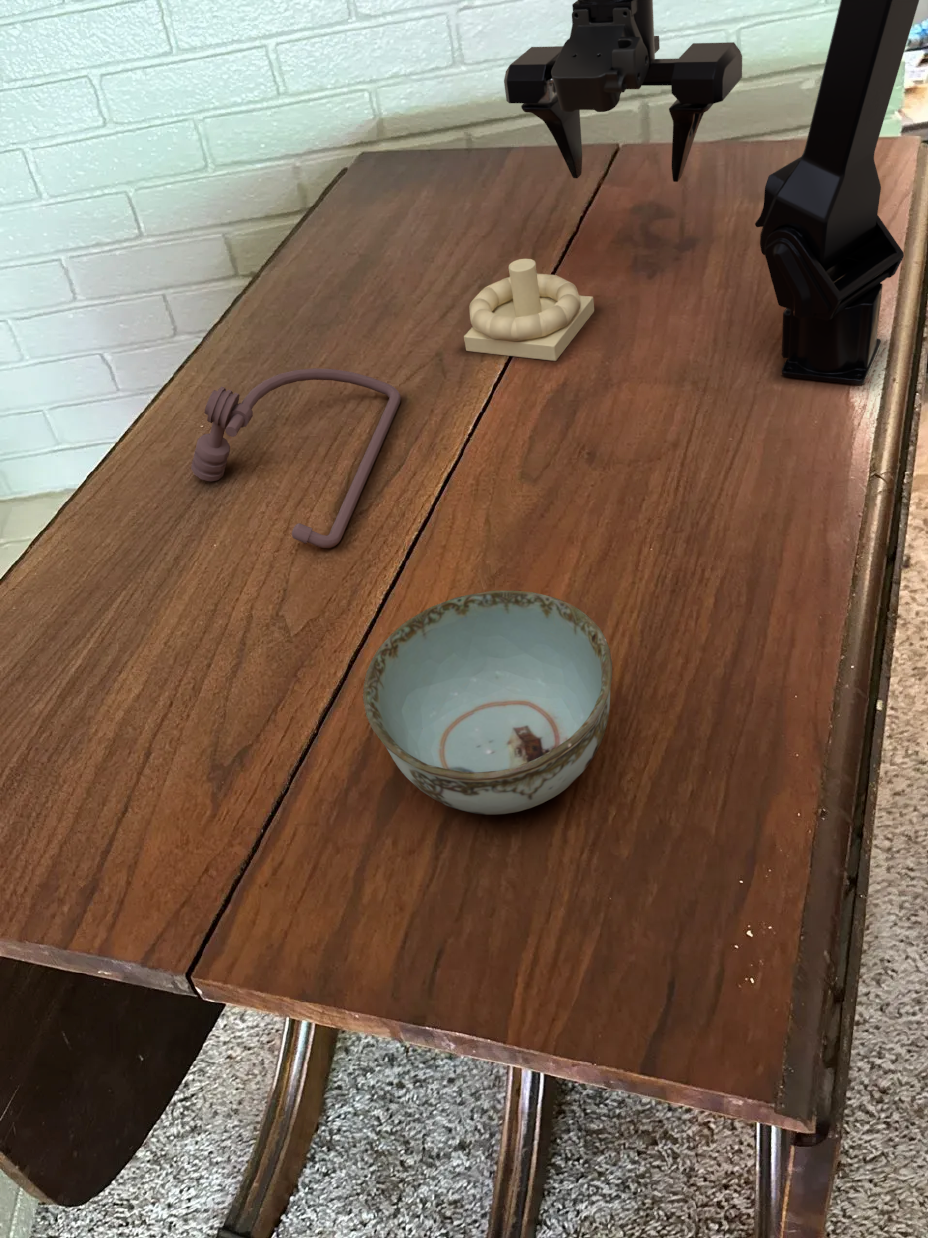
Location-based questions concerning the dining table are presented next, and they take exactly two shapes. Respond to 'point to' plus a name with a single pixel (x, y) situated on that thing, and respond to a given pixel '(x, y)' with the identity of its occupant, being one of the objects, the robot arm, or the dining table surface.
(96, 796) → the dining table surface
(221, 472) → the toilet paper hanger
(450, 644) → the bowl
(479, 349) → the peg stand
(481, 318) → the ring
